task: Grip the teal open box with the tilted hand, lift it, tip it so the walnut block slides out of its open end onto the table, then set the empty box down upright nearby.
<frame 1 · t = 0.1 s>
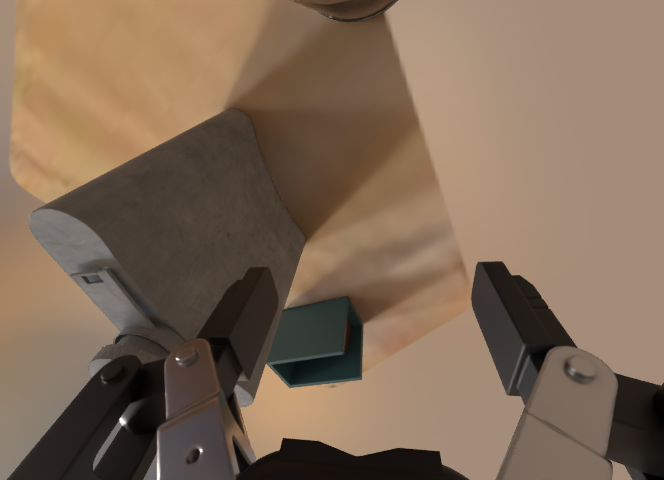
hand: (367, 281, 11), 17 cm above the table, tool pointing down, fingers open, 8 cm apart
teal open box: (322, 317, 40), on the table, touching walnut block
hip flask: (264, 189, 29), on the table
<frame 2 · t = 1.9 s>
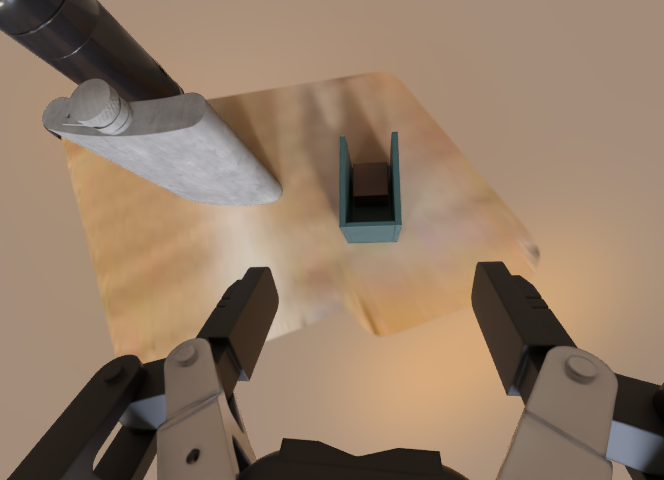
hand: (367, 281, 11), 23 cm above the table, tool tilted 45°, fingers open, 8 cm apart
teal open box: (371, 204, 36), on the table, touching walnut block
hip flask: (229, 193, 40), on the table
walnut block: (371, 191, 36), resting on teal open box
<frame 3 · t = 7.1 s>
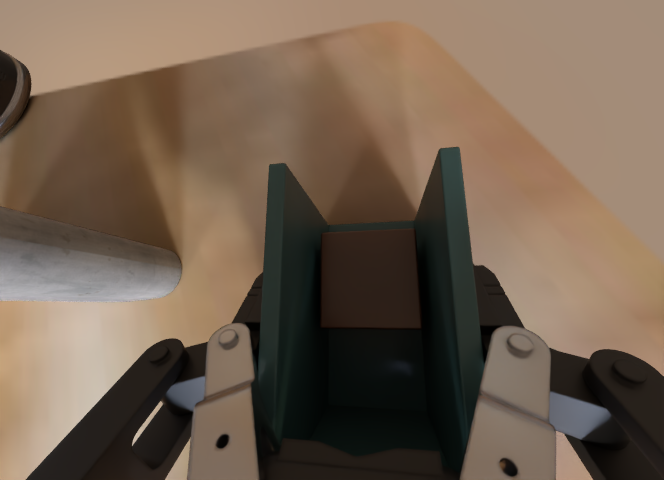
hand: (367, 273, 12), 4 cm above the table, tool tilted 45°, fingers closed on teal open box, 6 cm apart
teal open box: (373, 313, 15), on the table, touching gripper, walnut block
hip flask: (82, 273, 20), on the table
walnut block: (372, 284, 15), resting on teal open box
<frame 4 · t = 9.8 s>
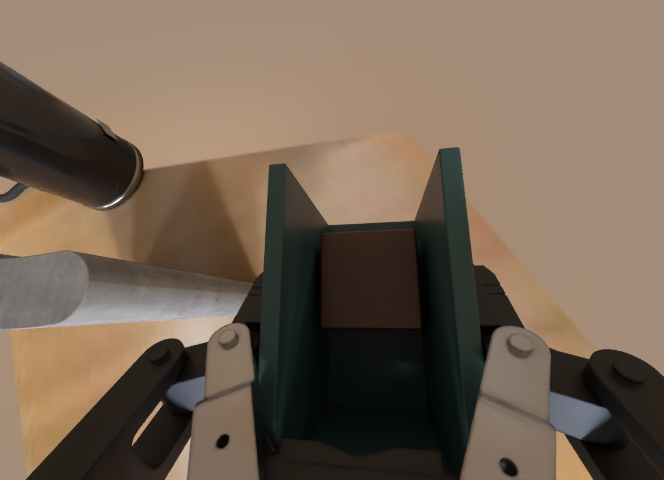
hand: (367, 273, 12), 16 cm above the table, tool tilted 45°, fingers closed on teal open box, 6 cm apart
teal open box: (373, 313, 15), point 11 cm above the table, touching gripper, walnut block
hip flask: (193, 297, 30), on the table
walnut block: (372, 285, 15), point 12 cm above the table, touching teal open box
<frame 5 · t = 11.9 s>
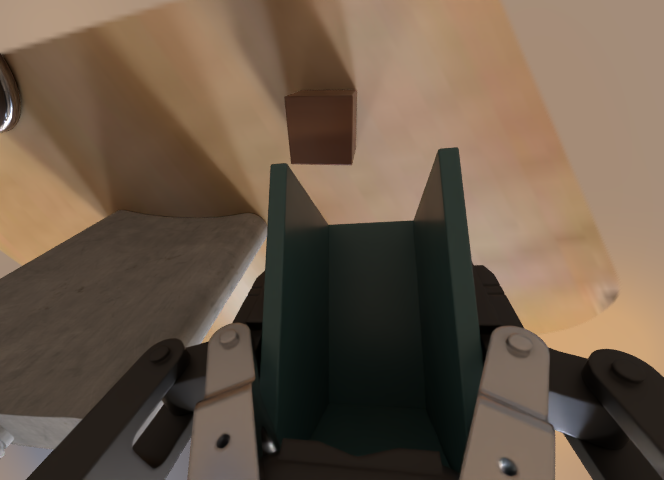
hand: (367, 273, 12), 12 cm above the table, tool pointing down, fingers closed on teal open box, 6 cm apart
teal open box: (373, 312, 16), point 11 cm above the table, tilted 45°, touching gripper
hip flask: (191, 229, 28), on the table
walnut block: (325, 156, 20), point 2 cm above the table, tilted 90°
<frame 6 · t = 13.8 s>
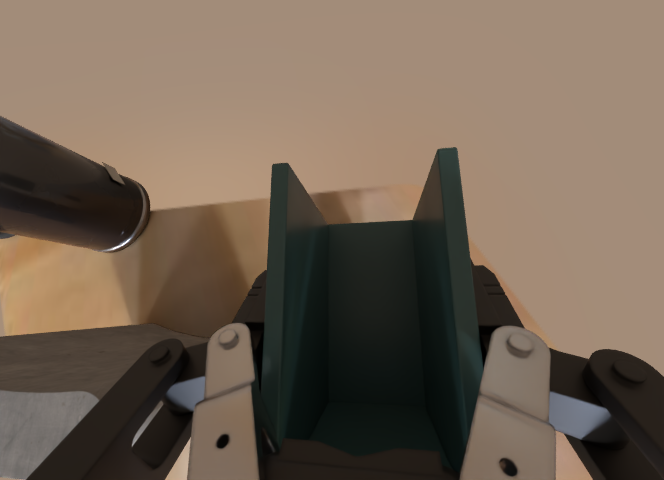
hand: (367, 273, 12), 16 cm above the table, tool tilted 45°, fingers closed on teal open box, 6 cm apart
teal open box: (372, 311, 16), point 12 cm above the table, touching gripper
hip flask: (203, 350, 29), on the table
when the fingers open (5 cm above the table, at t = 19.5 s): teal open box stays where it is, on the table.
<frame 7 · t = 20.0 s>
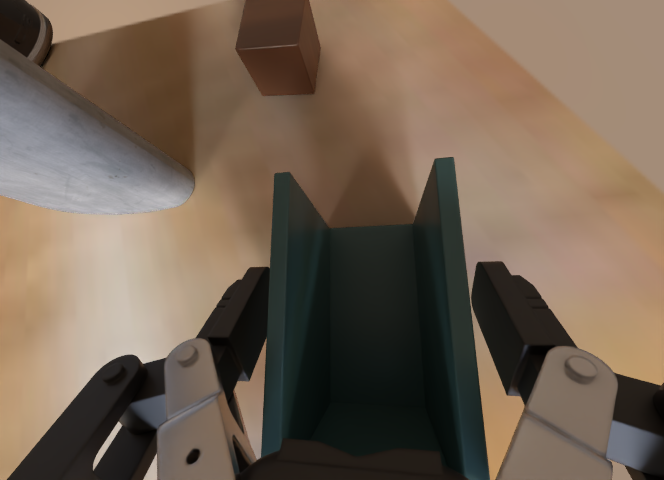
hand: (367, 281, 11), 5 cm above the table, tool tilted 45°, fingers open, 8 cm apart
teal open box: (373, 313, 16), on the table
hip flask: (103, 192, 22), on the table
walnut block: (277, 73, 18), point 2 cm above the table, tilted 90°
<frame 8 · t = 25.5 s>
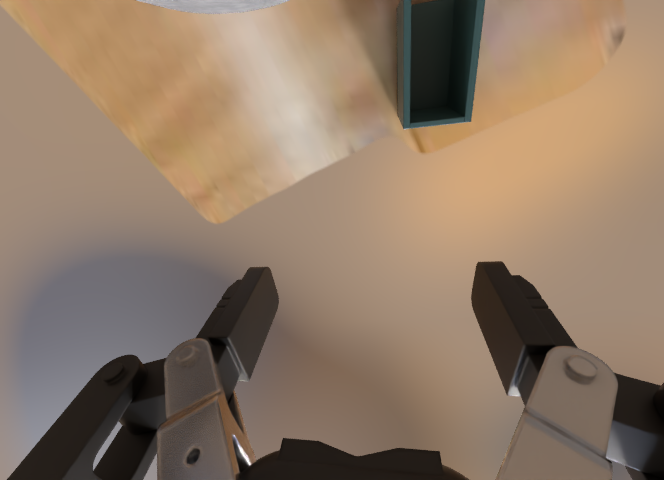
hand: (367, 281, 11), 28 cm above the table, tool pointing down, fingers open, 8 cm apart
teal open box: (425, 62, 30), on the table
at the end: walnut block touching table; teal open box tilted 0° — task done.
